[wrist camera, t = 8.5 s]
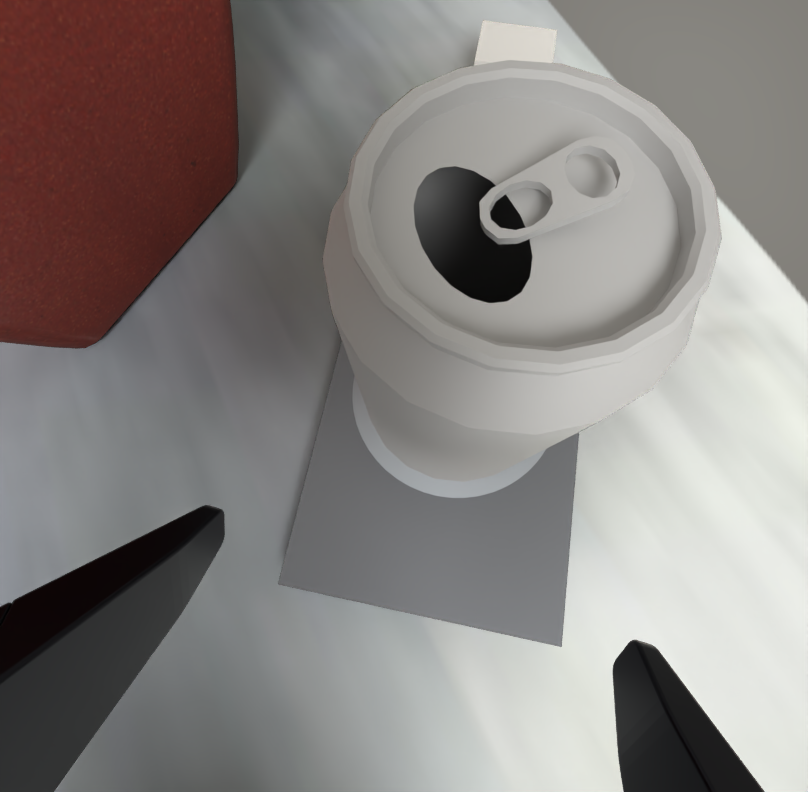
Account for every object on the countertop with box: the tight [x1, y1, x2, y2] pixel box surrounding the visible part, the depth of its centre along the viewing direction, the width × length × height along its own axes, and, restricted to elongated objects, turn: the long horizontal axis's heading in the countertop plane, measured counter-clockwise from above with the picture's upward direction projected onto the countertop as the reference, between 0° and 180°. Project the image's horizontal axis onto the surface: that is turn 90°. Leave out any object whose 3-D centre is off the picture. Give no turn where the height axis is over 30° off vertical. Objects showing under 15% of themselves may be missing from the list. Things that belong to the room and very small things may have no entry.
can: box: [322, 60, 722, 482], centre depth 12 cm, size 8×8×12 cm
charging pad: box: [278, 20, 579, 647], centre depth 20 cm, size 30×11×3 cm, turn 169°
